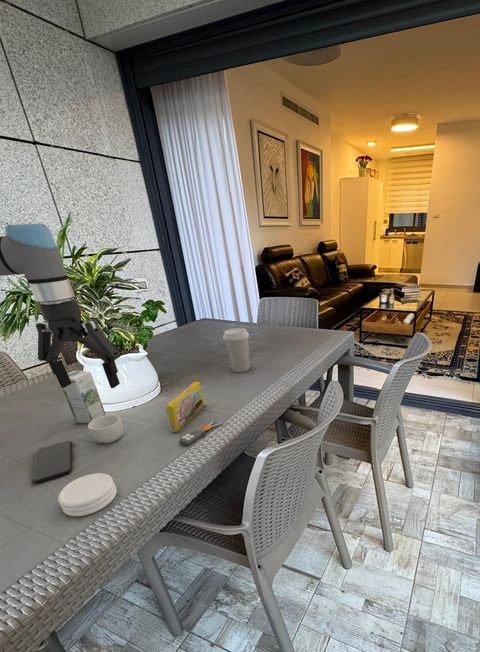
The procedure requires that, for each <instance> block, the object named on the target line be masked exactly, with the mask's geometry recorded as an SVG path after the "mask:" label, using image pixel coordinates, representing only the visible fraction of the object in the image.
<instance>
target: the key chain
mask: <svg viewBox="0 0 480 652" xmlns="http://www.w3.org/2000/svg"><path fill="white" fill-rule="evenodd" d="M214 423H215V422H214V421H211V422H210V423H208V424H207V425H203V426H202V427H201V429H195V430H193V431H191V432H189V433H187V434H185V436H182V437H181V438H180V439H179V442H180V444H182V445H185V446H188V445H191V444H192V443H194V442H196V440H198V439H199V438H201V437H202V436H203V435H204V433H205V432H206V431H209V430H210V431H211V428H214V427H217V426H219V425H222V424H224V422H219V423H216V424H214Z"/></svg>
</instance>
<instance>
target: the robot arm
mask: <svg viewBox="0 0 480 652" xmlns="http://www.w3.org/2000/svg"><path fill="white" fill-rule="evenodd" d="M4 230H5V235H2V236H0V277H3V276H17V275H20V276H21V275H24V277H25V279H26V281H27V284H28V285H29V288H30V291H31V293H32V295H33V298H34V300H35V302H36V303H39V304H38V306H37V307H38V310H39V312H40V314H41V317H42V319H43V321H41V322H38V323H36V324H35V328H36V331H37V359H38V361H40V362H42V361H44V362H45V363H46V364H48V365H49V367H50V369H51V372H52V374H53V375H54V376H56V379H57V381H58V383H59V385H60V388H61V389H62V388H65V387H67V386H68V385H70V384H72V383H71V380H70V378H69V376H68V371H67V369H66V367H65V364H64V361H63V360H62V359H60V355H61V352H62V349H63V346H64V344H65V343H67V342H71V343H76V342H77V343H78V344H80V345H83V346H84V347H86V348H87V349H88V350H89V351H91V353H93V354H94V355H95V356H97V358H99V359H100V360H101V361H102V362H103V363H101V366H102V369H103V372H104V373H105V376H106V380H107V382H108V385H109V387H110V389H115V388H116V387H117V386H119V385H120V384H121V383H120V379H119V377H118V373H119V370H118V367H117V364H116V360H118V359H119V358H120V357H122V356H121V353H120V352H119V351H118V349H117V348H116V347H115V346H114V344H113V343H112V342H111V341H110V340H109V339H108V337H107V336H106V335H105V334H104V332H103V331H102V330H101V329H100V327H99V325H98V322H97V320H94V319H92V320H90V321H86V322H85V321H83V319H82V314H83V313H82V310H81V308H80V305H79V303H78V300H77V299H75V297H76V295H75V292H74V290H73V286H72V284H71V281H70V278H69V275H68V274H67V271H66V268H65V265H64V262H63V259H62V257H61V254H60V251H59V246H58V245H57V243H56V241H55V238H54V236H53V233H52V232H51V230H50V228H49V227H48V226H47V225H46V224H44V223H19V224H7V225H5V227H4ZM52 333H53V335H52Z"/></svg>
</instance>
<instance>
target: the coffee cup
mask: <svg viewBox="0 0 480 652" xmlns="http://www.w3.org/2000/svg"><path fill="white" fill-rule="evenodd" d="M249 337H250V333H249V332H248V331H247V329H246V328H244V327H243V328H242V327H234V328H230V329H227V330H225V331H224V333H223V336H222V339H223V340H224V343H225V346H226V349H227V350H226V351H227V354H228V357H229V362H230V365H231V369H232V372H235V373H244V372H247V371H249V370H250V368H251V367H250V351H249V349H250V348H249Z"/></svg>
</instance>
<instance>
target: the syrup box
mask: <svg viewBox="0 0 480 652" xmlns="http://www.w3.org/2000/svg"><path fill="white" fill-rule="evenodd" d="M67 373H68V372H67ZM68 376H69V378H70V380H71V383H72V384H70V385H68V386H67V387H65V388H61V389H62V391H63V394H64V397H65V399H66V401H67V403H68V406H69V409H70V411H71V414H72V416H73V419H74V421H75V422H76V423H78V424H79V423H80V424H89V423H90V422H91V421H92V420H94V419H96V418H98V417H101V416H104V415H107V414H106V411H105V408H104V406H103V403H102V400H101V398H100V394H99V392H98V391H99V390H98V389H97V386H96V383H95V380H94V377H93V375H92V373H91V371H87V370H73V371H71V372H69V373H68Z"/></svg>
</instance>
